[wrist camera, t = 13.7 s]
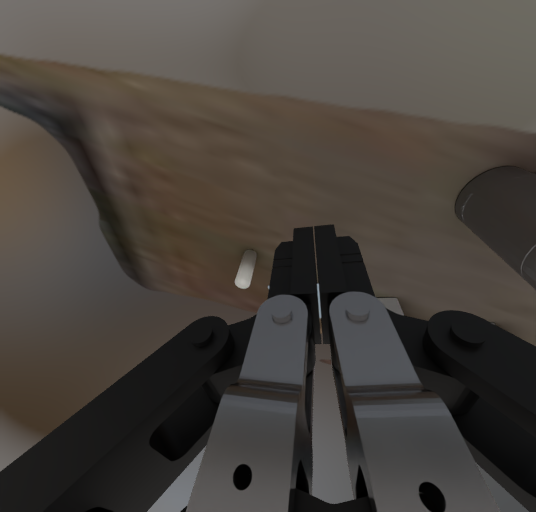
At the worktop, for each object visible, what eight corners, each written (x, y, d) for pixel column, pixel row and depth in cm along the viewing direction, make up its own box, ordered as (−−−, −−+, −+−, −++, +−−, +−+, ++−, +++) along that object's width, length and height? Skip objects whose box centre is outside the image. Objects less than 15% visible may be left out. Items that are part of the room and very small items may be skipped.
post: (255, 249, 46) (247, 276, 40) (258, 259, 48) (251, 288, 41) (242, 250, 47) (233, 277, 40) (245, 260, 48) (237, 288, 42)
